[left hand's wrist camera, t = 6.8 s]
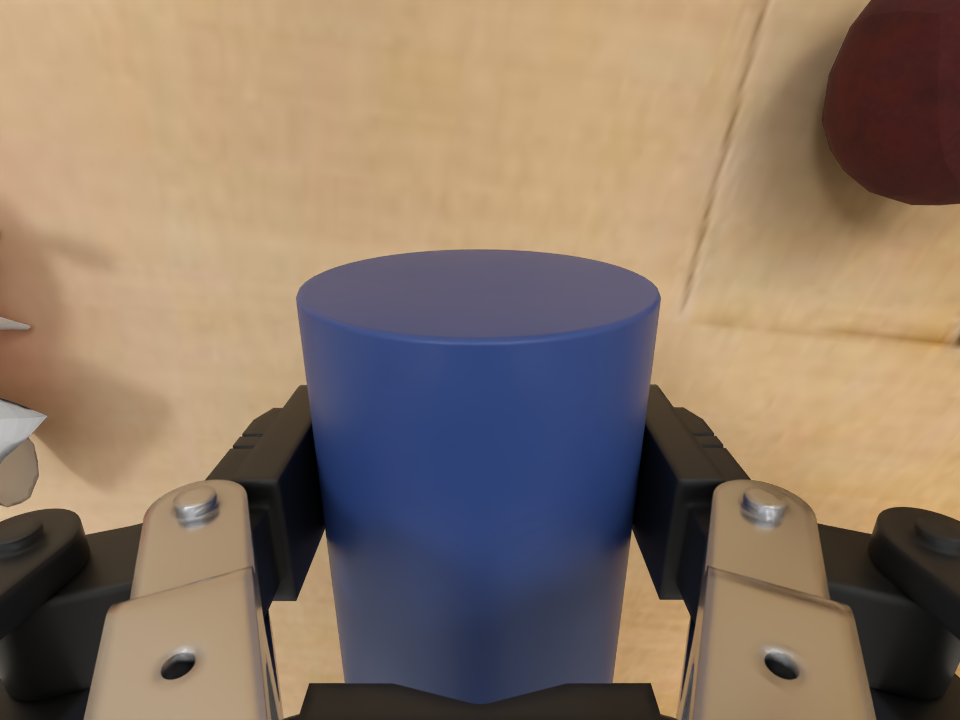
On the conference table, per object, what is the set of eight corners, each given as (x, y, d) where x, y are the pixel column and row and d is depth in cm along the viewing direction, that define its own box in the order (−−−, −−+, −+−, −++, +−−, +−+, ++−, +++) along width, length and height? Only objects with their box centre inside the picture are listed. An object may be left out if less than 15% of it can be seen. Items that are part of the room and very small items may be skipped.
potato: (801, 222, 23) (930, 255, 16) (765, 21, 20) (903, -36, 14) (988, 152, 22) (1207, 157, 15) (977, -70, 19) (1236, -179, 13)
